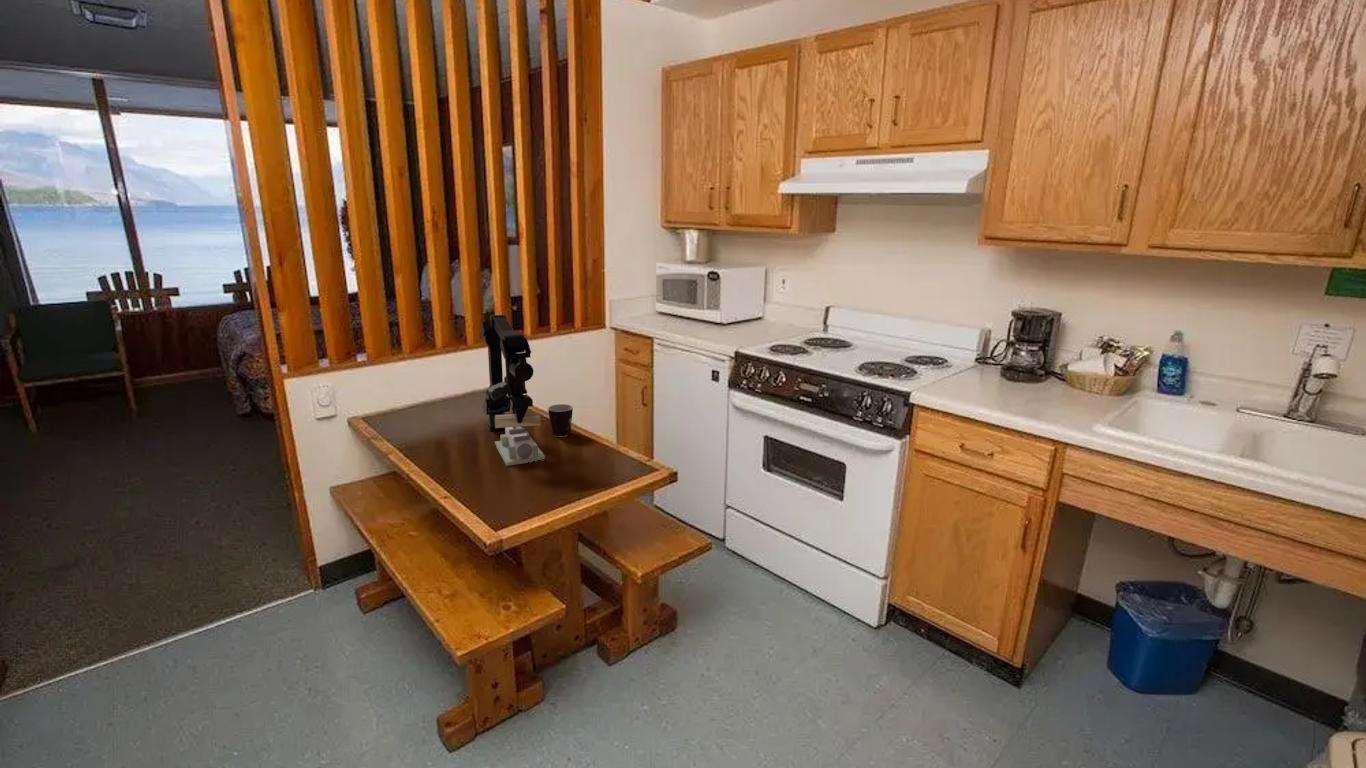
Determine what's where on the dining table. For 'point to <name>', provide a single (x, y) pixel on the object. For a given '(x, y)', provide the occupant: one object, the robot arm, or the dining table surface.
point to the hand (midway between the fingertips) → (518, 420)
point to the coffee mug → (560, 419)
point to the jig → (518, 447)
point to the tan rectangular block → (511, 420)
